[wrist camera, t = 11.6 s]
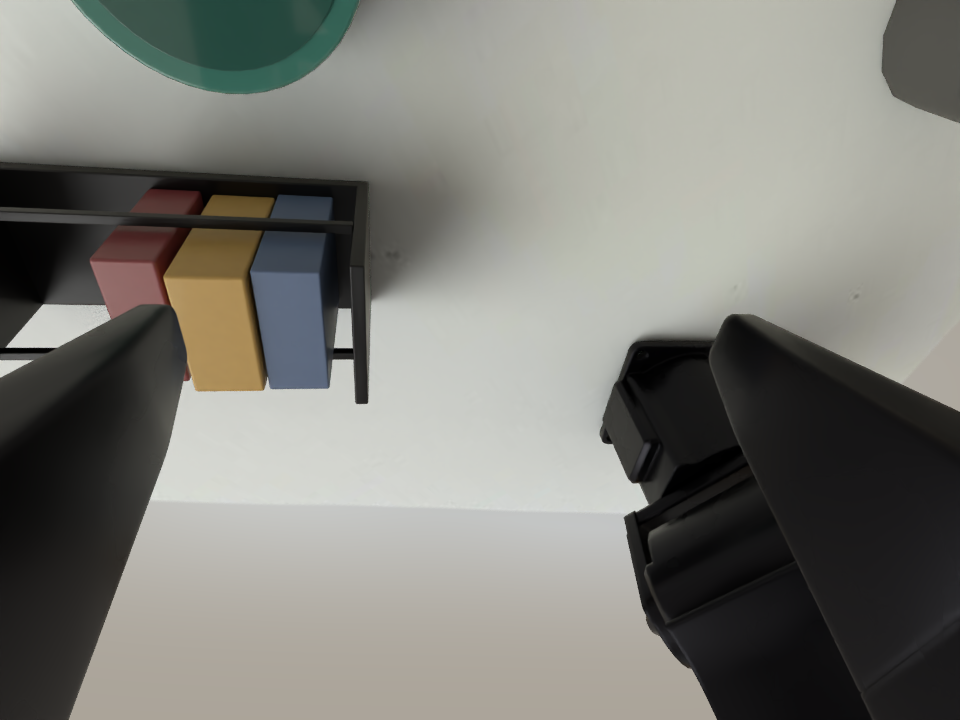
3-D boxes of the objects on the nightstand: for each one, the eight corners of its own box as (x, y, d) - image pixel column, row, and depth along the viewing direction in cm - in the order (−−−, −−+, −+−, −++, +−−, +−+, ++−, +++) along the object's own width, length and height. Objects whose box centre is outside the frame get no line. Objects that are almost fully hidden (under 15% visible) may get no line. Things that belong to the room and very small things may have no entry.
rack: (368, 180, 19) (364, 264, 14) (371, 303, 22) (368, 405, 18) (-27, 158, 17) (-180, 249, 12) (38, 298, 20) (-65, 412, 15)
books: (332, 196, 19) (319, 276, 15) (339, 300, 21) (329, 393, 17) (148, 187, 18) (76, 270, 14) (178, 297, 20) (126, 395, 16)
